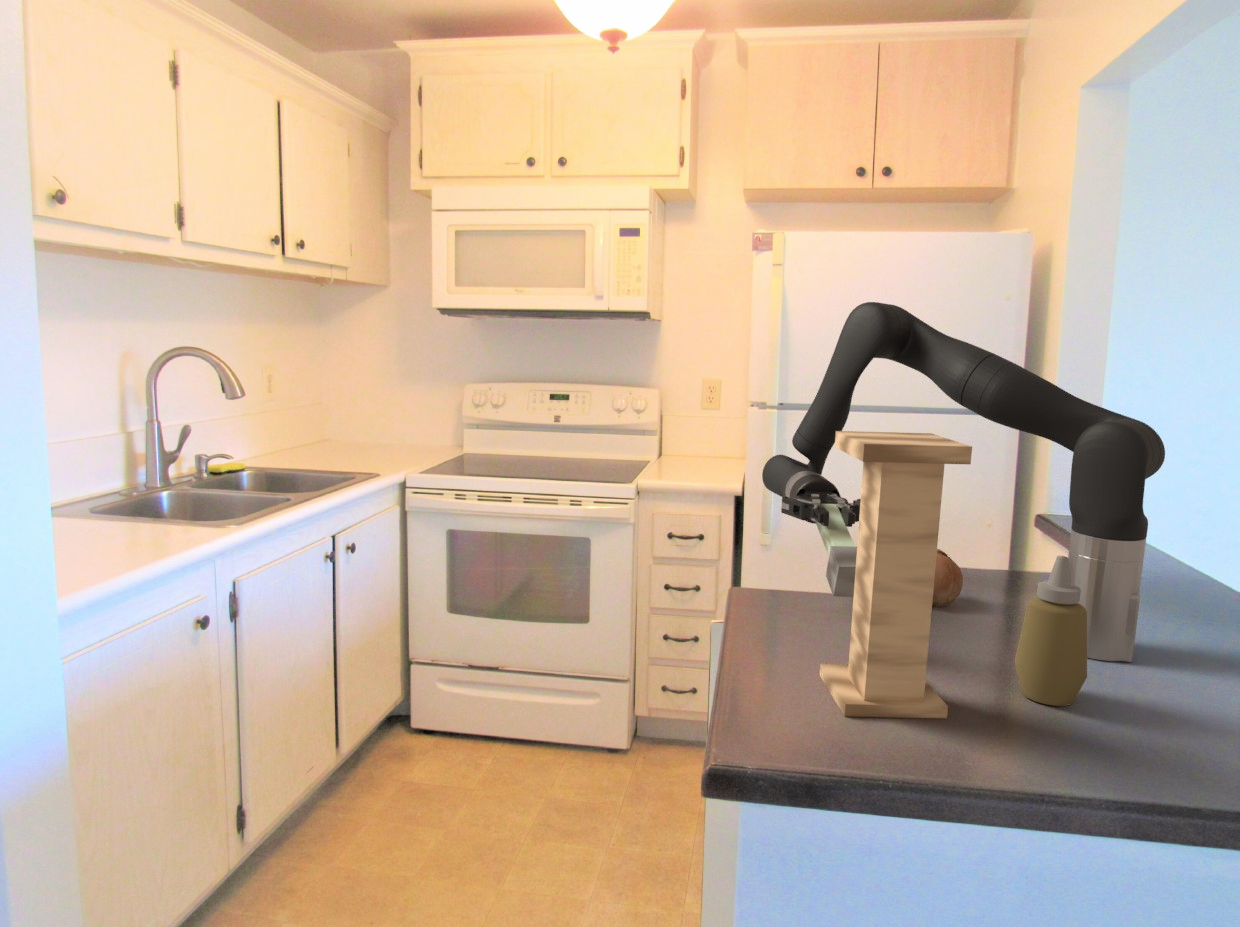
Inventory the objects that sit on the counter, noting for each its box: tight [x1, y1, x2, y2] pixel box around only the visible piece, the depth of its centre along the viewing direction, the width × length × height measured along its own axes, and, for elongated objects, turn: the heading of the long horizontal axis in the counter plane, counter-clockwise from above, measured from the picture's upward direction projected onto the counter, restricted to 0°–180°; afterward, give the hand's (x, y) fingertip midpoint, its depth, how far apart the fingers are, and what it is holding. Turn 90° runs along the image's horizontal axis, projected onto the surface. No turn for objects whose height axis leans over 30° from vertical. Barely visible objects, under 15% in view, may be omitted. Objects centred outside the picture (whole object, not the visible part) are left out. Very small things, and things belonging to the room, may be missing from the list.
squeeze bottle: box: [1014, 555, 1088, 707], centre depth 104 cm, size 8×8×18 cm
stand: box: [819, 430, 973, 719], centre depth 102 cm, size 12×12×32 cm
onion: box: [932, 548, 964, 607], centre depth 140 cm, size 10×9×10 cm
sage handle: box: [815, 504, 857, 598], centre depth 124 cm, size 18×5×5 cm, turn 0°
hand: (838, 519), depth 124 cm, fingers closed on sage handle, 3 cm apart
